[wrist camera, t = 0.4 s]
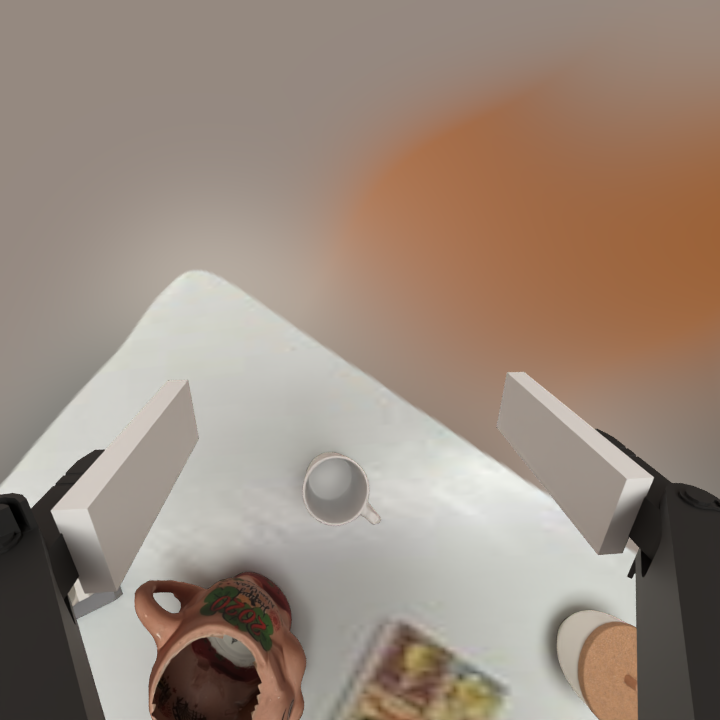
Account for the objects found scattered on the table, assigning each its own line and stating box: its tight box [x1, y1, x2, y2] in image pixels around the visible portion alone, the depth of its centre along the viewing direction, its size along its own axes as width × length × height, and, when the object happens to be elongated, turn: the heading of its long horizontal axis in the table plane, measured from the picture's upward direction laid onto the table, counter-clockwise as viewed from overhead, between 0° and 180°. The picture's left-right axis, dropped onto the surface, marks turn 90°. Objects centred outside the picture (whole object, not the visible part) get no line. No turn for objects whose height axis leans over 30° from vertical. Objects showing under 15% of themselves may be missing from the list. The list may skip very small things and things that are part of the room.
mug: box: [302, 452, 381, 526], centre depth 42 cm, size 10×7×12 cm, turn 52°
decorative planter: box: [135, 572, 306, 720], centre depth 37 cm, size 20×12×14 cm, turn 57°
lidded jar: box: [557, 610, 638, 720], centre depth 44 cm, size 11×11×9 cm
